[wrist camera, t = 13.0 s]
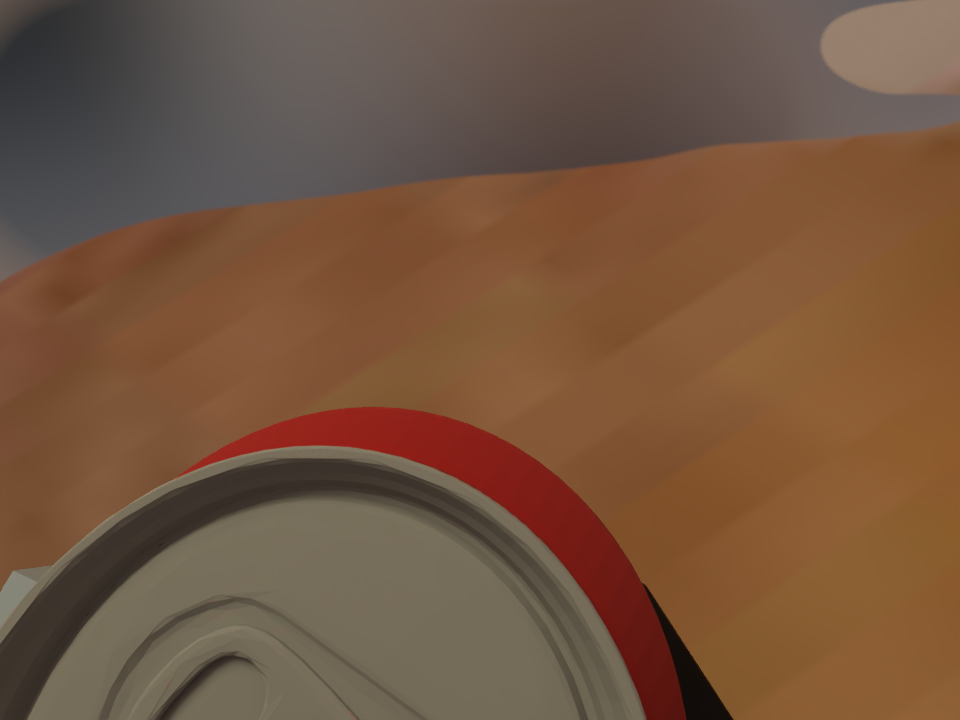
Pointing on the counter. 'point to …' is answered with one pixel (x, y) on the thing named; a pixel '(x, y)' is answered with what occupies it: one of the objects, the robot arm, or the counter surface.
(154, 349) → the counter surface
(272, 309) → the counter surface
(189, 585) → the beverage can
